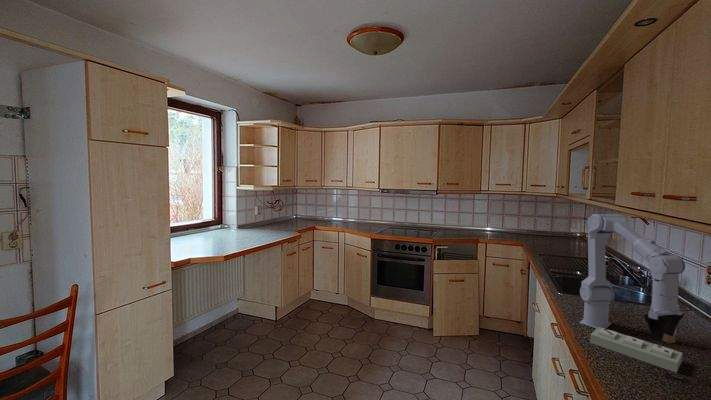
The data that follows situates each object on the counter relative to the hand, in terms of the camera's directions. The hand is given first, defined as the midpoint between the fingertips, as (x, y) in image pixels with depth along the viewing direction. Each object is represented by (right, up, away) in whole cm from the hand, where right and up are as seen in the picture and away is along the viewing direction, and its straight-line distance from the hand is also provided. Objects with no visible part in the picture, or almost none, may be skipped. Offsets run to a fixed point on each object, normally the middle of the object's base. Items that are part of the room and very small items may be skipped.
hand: (662, 337), depth 101 cm
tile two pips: (+2, -7, +2) cm, 7 cm away
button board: (-2, -8, +8) cm, 12 cm away
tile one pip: (-2, -6, +8) cm, 10 cm away
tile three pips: (-7, -6, +13) cm, 16 cm away
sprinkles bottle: (+16, -8, +15) cm, 23 cm away
